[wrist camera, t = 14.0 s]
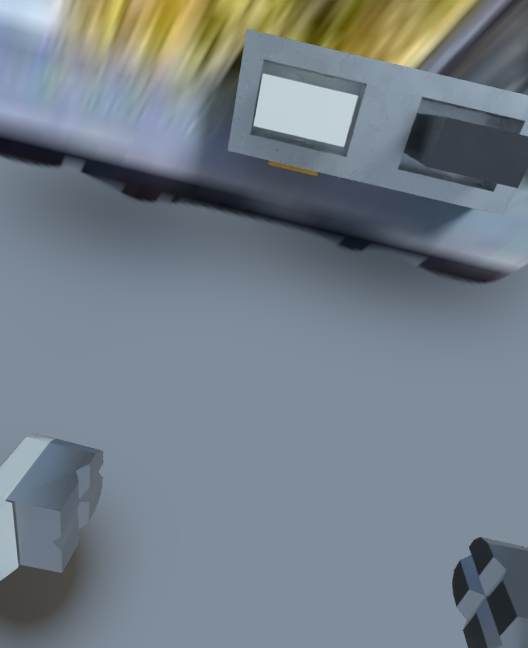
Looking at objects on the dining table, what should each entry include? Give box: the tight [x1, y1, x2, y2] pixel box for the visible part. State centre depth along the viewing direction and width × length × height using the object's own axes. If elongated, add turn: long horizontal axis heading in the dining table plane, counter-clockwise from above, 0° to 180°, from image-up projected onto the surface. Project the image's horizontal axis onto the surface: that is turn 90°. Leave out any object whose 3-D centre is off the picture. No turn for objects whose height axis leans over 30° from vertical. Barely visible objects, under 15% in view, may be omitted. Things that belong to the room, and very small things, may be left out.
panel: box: [254, 74, 358, 147], centre depth 31 cm, size 6×3×9 cm, turn 78°
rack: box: [228, 29, 528, 216], centre depth 32 cm, size 22×8×10 cm, turn 78°
